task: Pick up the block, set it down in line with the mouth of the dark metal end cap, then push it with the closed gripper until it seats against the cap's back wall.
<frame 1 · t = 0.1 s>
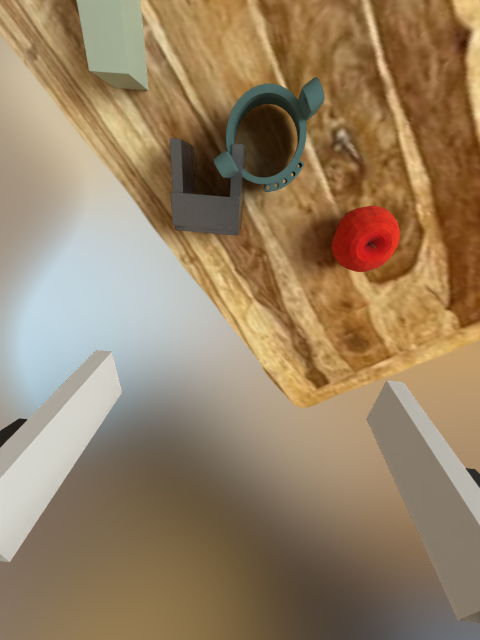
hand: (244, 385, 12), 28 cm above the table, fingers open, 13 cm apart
bracket: (267, 149, 29), on the table, touching endcap
apple: (353, 234, 34), on the table
endcap: (214, 184, 32), on the table
block: (125, 26, 25), on the table
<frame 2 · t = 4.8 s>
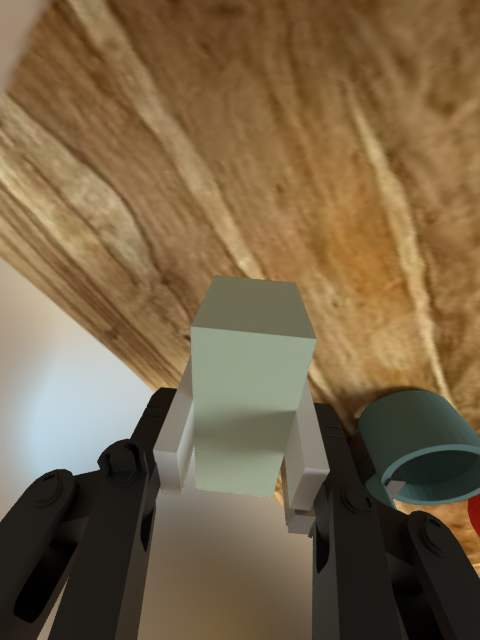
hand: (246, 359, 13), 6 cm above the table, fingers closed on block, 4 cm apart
bracket: (403, 422, 23), on the table, touching endcap
endcap: (324, 440, 26), on the table
block: (246, 358, 14), point 5 cm above the table, touching gripper
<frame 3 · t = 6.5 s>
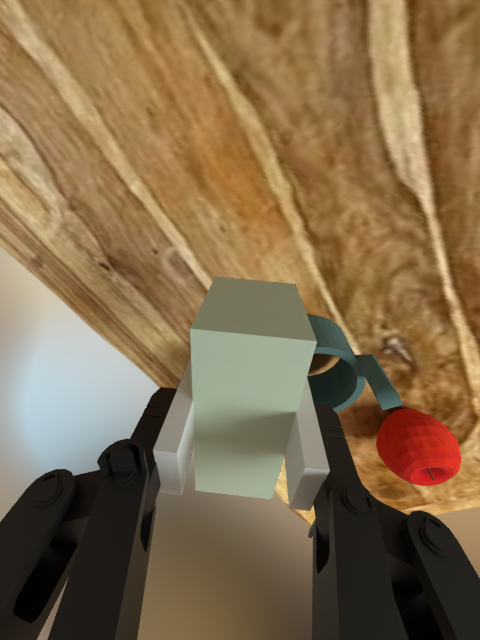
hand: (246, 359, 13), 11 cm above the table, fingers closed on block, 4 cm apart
bracket: (307, 351, 25), on the table, touching endcap
apple: (397, 415, 30), on the table
block: (246, 359, 14), point 10 cm above the table, touching gripper
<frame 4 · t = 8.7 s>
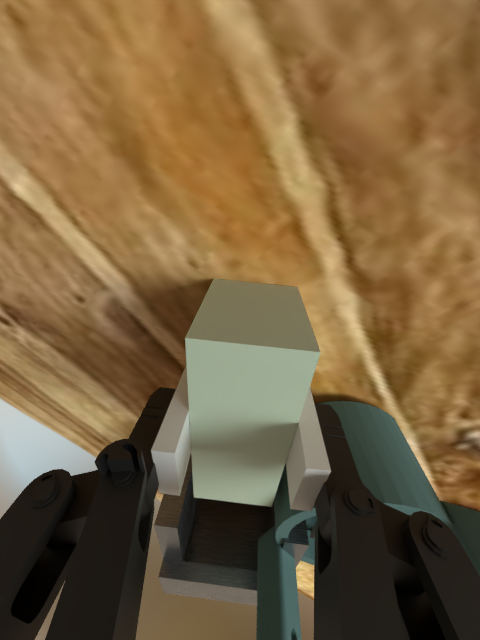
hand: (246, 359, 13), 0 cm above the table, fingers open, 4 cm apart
bracket: (335, 443, 16), on the table, touching endcap
endcap: (236, 461, 19), on the table
block: (246, 362, 14), on the table, touching gripper
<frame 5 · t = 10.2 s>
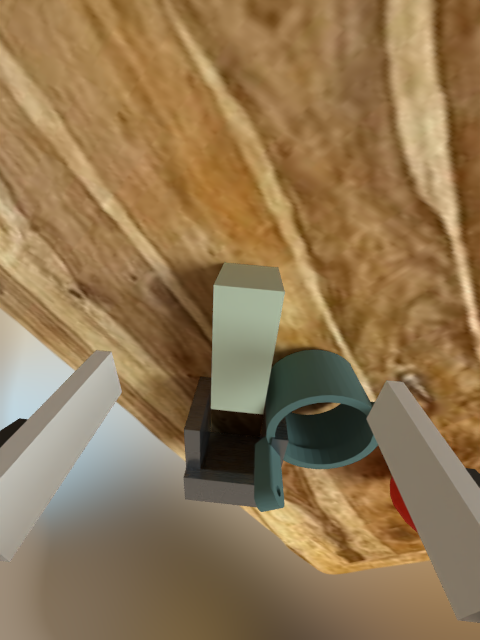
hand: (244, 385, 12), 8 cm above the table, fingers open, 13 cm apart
bracket: (310, 387, 22), on the table, touching endcap
apple: (411, 454, 27), on the table
endcap: (237, 409, 25), on the table
block: (245, 322, 20), on the table
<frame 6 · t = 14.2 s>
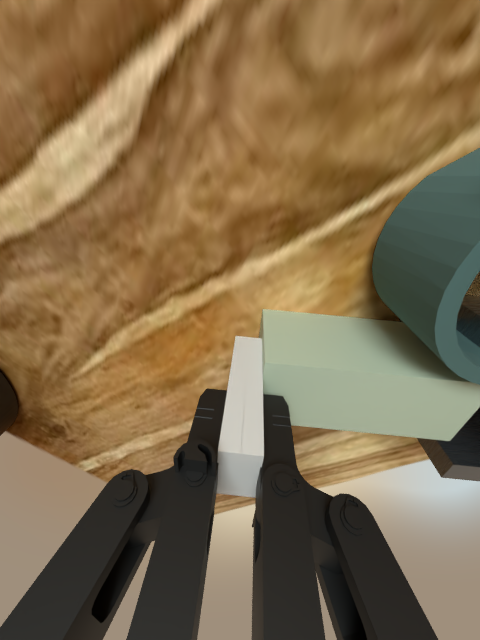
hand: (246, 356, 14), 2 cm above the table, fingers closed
bracket: (470, 243, 11), on the table, touching endcap
endcap: (474, 354, 15), on the table
block: (334, 342, 15), on the table, touching gripper
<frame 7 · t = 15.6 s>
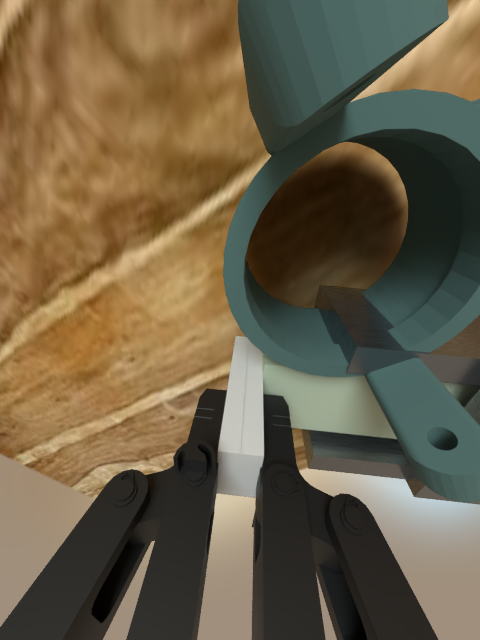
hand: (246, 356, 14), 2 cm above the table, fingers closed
bracket: (329, 233, 11), on the table, touching endcap
endcap: (367, 348, 15), on the table
block: (335, 344, 15), on the table, touching gripper
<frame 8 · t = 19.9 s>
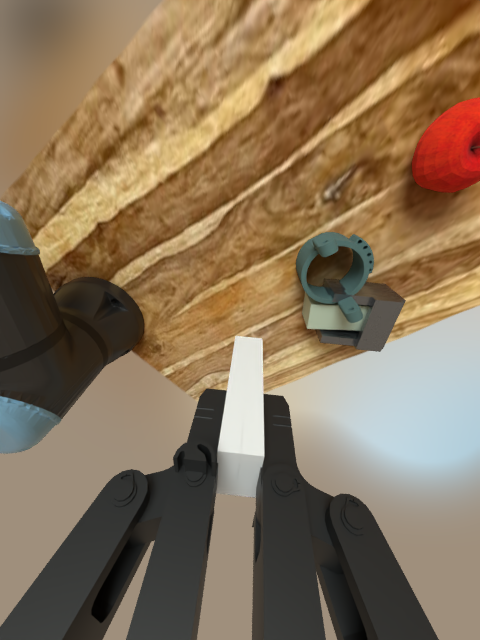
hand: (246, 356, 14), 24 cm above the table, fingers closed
bracket: (327, 260, 34), on the table, touching endcap
apple: (432, 154, 28), on the table
endcap: (343, 304, 38), on the table
block: (334, 302, 38), on the table
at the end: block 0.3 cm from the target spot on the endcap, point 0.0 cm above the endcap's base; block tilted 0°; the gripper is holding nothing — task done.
